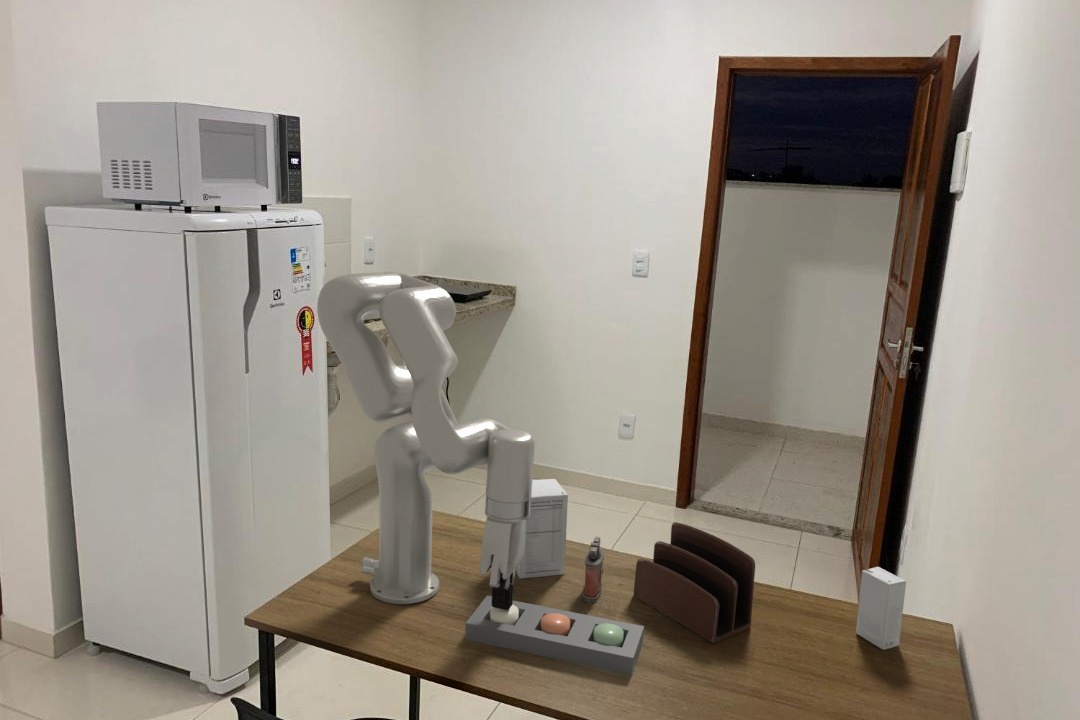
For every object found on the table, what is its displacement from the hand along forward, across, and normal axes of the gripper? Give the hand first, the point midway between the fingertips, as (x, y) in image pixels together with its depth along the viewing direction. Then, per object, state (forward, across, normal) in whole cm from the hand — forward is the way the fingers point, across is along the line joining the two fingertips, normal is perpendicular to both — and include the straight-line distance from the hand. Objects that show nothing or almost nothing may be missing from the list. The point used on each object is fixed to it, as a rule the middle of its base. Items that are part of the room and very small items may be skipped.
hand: (501, 606), depth 134 cm
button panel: (+4, 0, +10) cm, 11 cm away
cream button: (+4, 0, +1) cm, 4 cm away
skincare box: (+3, -21, +62) cm, 65 cm away
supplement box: (+5, -25, -1) cm, 25 cm away
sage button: (+3, 0, +19) cm, 19 cm away
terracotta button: (+3, 0, +10) cm, 10 cm away
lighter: (+4, -19, +12) cm, 23 cm away
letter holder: (+4, -18, +30) cm, 35 cm away
